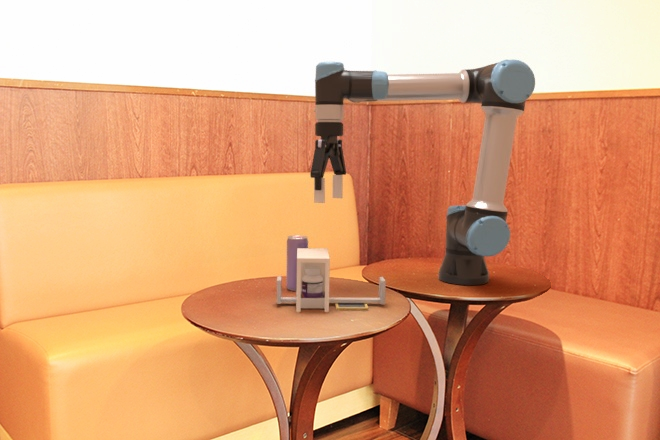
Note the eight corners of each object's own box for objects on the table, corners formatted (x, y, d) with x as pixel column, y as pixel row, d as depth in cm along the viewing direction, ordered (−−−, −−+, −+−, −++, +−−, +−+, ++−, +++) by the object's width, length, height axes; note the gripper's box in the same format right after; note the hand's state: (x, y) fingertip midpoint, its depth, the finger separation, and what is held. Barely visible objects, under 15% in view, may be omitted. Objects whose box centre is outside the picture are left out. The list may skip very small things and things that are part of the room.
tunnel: (326, 298, 173) (327, 248, 171) (328, 312, 159) (329, 258, 157) (296, 297, 172) (297, 248, 170) (296, 312, 158) (296, 258, 157)
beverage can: (304, 292, 179) (305, 238, 177) (284, 290, 180) (284, 237, 178) (309, 287, 184) (310, 235, 182) (289, 286, 186) (290, 234, 184)
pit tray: (364, 300, 171) (364, 297, 171) (368, 310, 161) (368, 307, 161) (334, 299, 171) (334, 297, 171) (336, 310, 161) (336, 307, 161)
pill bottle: (301, 302, 168) (301, 265, 167) (321, 302, 168) (322, 265, 167) (302, 307, 163) (302, 270, 161) (323, 307, 163) (323, 270, 162)
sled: (381, 300, 170) (382, 275, 170) (385, 308, 162) (386, 282, 161) (277, 299, 169) (277, 274, 168) (276, 308, 161) (276, 281, 160)
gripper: (332, 122, 185) (332, 195, 188) (297, 120, 162) (297, 204, 165) (357, 122, 182) (356, 196, 185) (325, 120, 159) (324, 205, 162)
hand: (328, 200), depth 175 cm, fingers open, 13 cm apart
